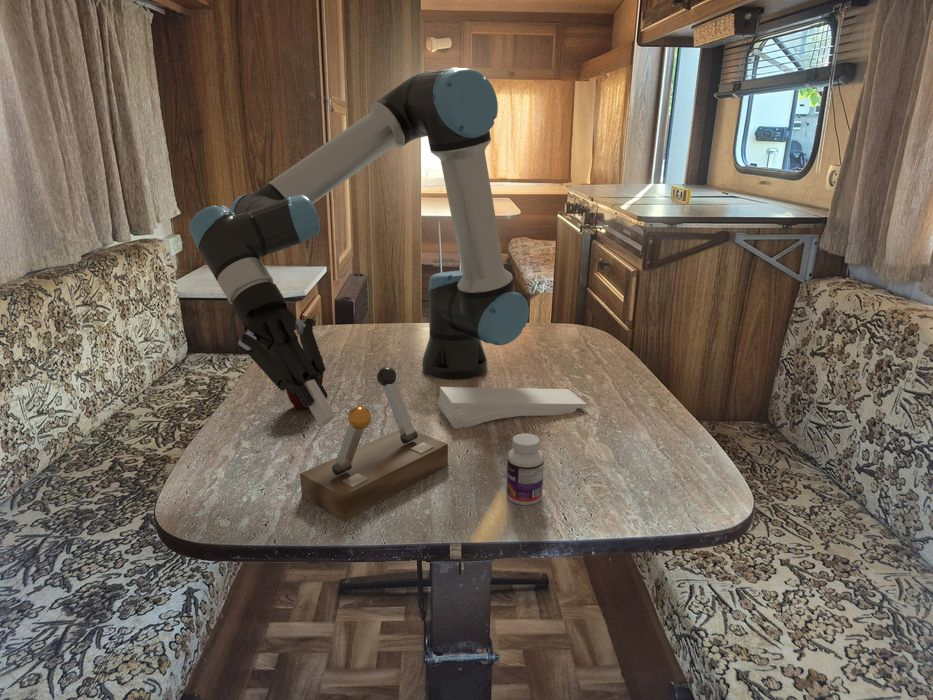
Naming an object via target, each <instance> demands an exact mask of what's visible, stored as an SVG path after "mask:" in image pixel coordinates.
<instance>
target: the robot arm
mask: <svg viewBox="0 0 933 700" xmlns="http://www.w3.org/2000/svg"><path fill="white" fill-rule="evenodd" d="M498 110H499V103H498V97H497V93H496V91H495V89H494V87H493V84H491V82H490V80H489V79H488V77H486V76H484V75H483V74H482V73H481V72H479V71H478V70H475V69H472V68H468V67H465V68H464V67H463V68H462V67H450V68H446V69H441V70H439V69H438V70H435V71H424V72H420V73H417V74H415V75H412V76H411V77H409V78H407V79H406V80H405V81H403V82H401V83H400V84H399V85H397V86H395V88H393V89H391V90H390V91H389V92H387V94H385V95H383V96H382V97H381V98H380V99H378V100H377V101H375V102H373V103H372V104H371V106H370V112H369V113H367V114H366V115H364V116H363V117H362V118H360V119H359V120H358V121H356V122H355V123H353V124H351V125H350V126H349V127H347V128H346V129H345V130H343V131H341V132H340V133H339V134H337V135H336V136H334V137H333V138H332V139H329V141H326V143H324V144H323V145H321V146H320V147H318V148H316V150H314V151H312V152H310V154H308V155H307V156H305V157H304V158H302V159H300V160H299V161H298V162H296V163H295V164H294V165H292V166H291V167H289V168H288V169H286V170H285V171H283V173H281V174H279V175H278V176H275V178H273V179H272V180H271V181H269V182H268V183H266V184H265V185H263V186H262V187H260V188H258V189H257V190H256V191H254V192H252V193H246V194H242V195H239V196H238V197H237V198H236V199H235V200H233V201H232V204H231V207H230V208H229V207H228V206H226V205H210V206H208V207H207V206H206V207H204V208H203V209H201V210H199V211H198V212H197V213H196V214H194V215H193V217H192V218H191V220H190V222H189V227H188V231H189V233H190V235H191V239H193V242H194V244H195V246H196V248H197V250H198V253H199V254H200V255H201V257H202V258H203V260H204V262H205V264H206V265H207V267H208V268H209V270H210V272H211V273H212V275H213V277H214V278H215V280H216V282H217V284H218V285H219V287H220V289H221V290H222V292H223V294H224V296H225V297H226V299H227V301H228V302H229V304H231V308H232V310H233V311H234V313H235V315H236V316H237V319H238V320H239V322H240V324H241V325H242V326H243V327H244V329H243V331H244V334H242V335H241V337H240V338H239V341H238V342H237V344H236V347H237V348H238V349H239V350H240V351H242V352H243V353H244V354H247V355H248V356H249V357H250V358H251V359H252V360H253V362H254V363H255V364H256V365H257V366H258V367H259V369H261V370H262V371H263V373H264V374H265V375H266V376H267V377H268V378H269V379H270V381H272V383H273V385H275V386H276V387H277V388H278V389H279V390H280V391H285V390H286V389H290V390H289V391H290V392H291V393H295V392H296V394H297V396H298V398H299V399H300V401H301V403H302V404H303V406H304V407H309V408H310V410H309V411H310V412H311V414H312V415H313V417H314V419H315V420H316V422H317V425H319V427H323V426H325V425H328V424H329V423H330V422H331V421H332V420H333V418H335V417H336V413H335V412H334V410H333V408H332V407H331V405H330V403H329V402H328V400H327V398H328V393H327V391H326V389H325V387H324V386H323V383H322V384H321V383H320V381H319V377H320V376H321V375H322V374H323V375H324V373H325V372H326V366H325V363H324V359H323V360H322V358H323V357H322V355H321V352H320V348H319V346H318V343H317V340H316V337H315V333H314V331H313V327H314V322H313V319H311V318H306V319H305V320H302V319H299V318H296V315H295V314H294V313H293V312H292V311H290V310H289V308H288V306H287V302H286V300H285V298H284V296H283V294H282V293H281V291H280V289H279V288H278V285H277V284H276V283H274V279H273V277H272V275H271V274H270V272H269V270H268V268H267V267H266V266H265V265H264V263H263V261H262V259H261V258H263V257H266V256H268V255H269V256H270V255H271V254H274V253H277V252H279V251H282V250H285V249H288V248H291V247H294V246H296V245H299V244H304V243H305V242H306V241H308V240H311V239H313V238H315V237H317V236H318V235H319V233H320V230H321V224H320V223H321V222H320V218H319V215H318V212H317V210H316V208H315V205H314V204H315V203H316V202H318V201H320V199H322V198H323V197H324V196H326V195H328V194H329V193H330V192H333V190H334V189H336V188H338V187H339V186H340V185H342V184H343V183H345V182H346V181H347V180H349V179H350V178H352V177H353V176H354V175H355V174H357V173H358V172H359V171H361V170H362V169H364V168H365V167H366V166H368V165H370V164H371V163H373V162H374V161H375V160H377V159H378V158H379V157H380V156H382V155H383V154H385V153H386V152H388V151H389V150H390V149H392V148H396V149H401V148H403V147H405V145H406V144H408V143H409V142H412V141H414V140H417V139H420V138H425V137H427V139H428V145H429V149H430V153H432V154H433V155H434V156H436V157H437V158H438V159H439V160H440V165H441V169H442V174H443V180H444V184H445V185H444V186H445V190H446V195H447V200H448V205H449V211H450V216H451V221H452V227H453V232H454V237H455V238H454V239H455V241H456V247H457V252H458V258H459V262H460V263H459V264H460V269H461V270H450V271H442V272H438V273H434V274H432V275H431V276H430V277H429V280H428V290H427V293H428V318H429V319H428V320H429V321H428V323H429V324H428V325H429V336H428V342H427V344H426V348H425V349H424V350H425V351H424V353H423V354H424V355H423V357H422V359H421V360H422V364H421V365H422V368H421V369H422V372H424V374H426V375H428V376H429V377H433V378H436V379H442V380H450V381H451V380H454V381H455V380H467V379H473V378H477V377H479V376H482V375H483V374H485V373H486V372H487V369H488V359H487V356H486V353H485V350H484V347H483V343H485V344H492V345H494V346H504V345H508V344H510V343H512V342H514V341H515V340H516V339H518V337H520V335H521V334H522V333H523V330H524V328H525V327H526V325H527V324H528V319H529V315H530V309H529V304H528V301H527V299H526V298H525V297H524V296H523V294H521V293H520V292H516V289H515V283H514V277H513V274H512V273H511V272H510V271H508V270H507V269H506V268H505V267H504V260H503V255H502V249H501V242H500V236H499V230H498V224H497V223H498V222H497V218H496V212H495V207H494V199H493V193H492V188H491V181H490V176H489V175H490V174H489V170H488V164H487V163H488V162H487V156H486V148H487V147H488V146H489V144H490V143H491V141H492V137H491V132H490V130H491V129H492V128H493V126H494V125H495V120H496V119H497V117H498V112H499V111H498ZM298 335H299V336H298ZM299 341H300V342H299ZM482 342H483V343H482ZM304 383H305V384H304Z"/></svg>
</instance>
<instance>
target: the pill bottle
mask: <svg viewBox="0 0 933 700" xmlns="http://www.w3.org/2000/svg"><path fill="white" fill-rule="evenodd" d="M540 445H541V444H540V438H539V436H537V435H536V434H532V433H524V432H522V433H518V434H516V435H514V436H513V437H512V448H511V450H509V451H508V453H507V462H506V465H507V466H506V470H507V471H506V496H507V498H508V499H509V501H511V503H514V504H516V505H521V506H530V505H534V504H537V503H539V502H540V501H541V500H542V498H543V483H544V466H545V465H544V463H545V462H544V461H545V460H544V459H545V458H544V454H543V452H542V451H541V450H540V449H541V448H540V447H541V446H540Z"/></svg>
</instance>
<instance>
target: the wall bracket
mask: <svg viewBox="0 0 933 700" xmlns="http://www.w3.org/2000/svg"><path fill="white" fill-rule="evenodd" d="M437 404H438V408H439V409H440V411H441V412H442V413H443V415H444V416H445V418H446V420H448V422H449V423H450V425H451V426H452V427H453V428H454V429H461V428H468V427H473V426H477V425H480V424H483V423H486V422H490V421H495V420H500V419H506V418H513V417H528V416H529V417H530V416H531V417H533V416H534V417H535V416H557V415H567V414H574V413H575V412H576V411H577V409H587V406H588V405H587V402H585V401H584V400H583V399H582V398H580V397H579V396H578V395H576V394H575V393H574V392H572V391H571V390H570V389H569V388H529V387H527V388H525V387H524V388H522V387H521V388H519V387H473V386H472V387H468V386H467V387H465V386H463V387H462V386H461V387H460V386H456V387H455V386H439V397H438V400H437Z"/></svg>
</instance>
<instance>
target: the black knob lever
mask: <svg viewBox="0 0 933 700" xmlns="http://www.w3.org/2000/svg"><path fill="white" fill-rule="evenodd" d="M376 379H377V382H378V383H379V385H380V386H382V388H383V390H384V394H385V396H386V398H387V401H388V404H389V407H390V409H391V412H392V415H393V418H394V420H395V423H396V425H397V428H398V430H399V431H400V434H401V436H400V439H401V441H402V443H404V444H406V443H408V442H410V441H412V440H414V439H416V438H417V437H418V435H417V432H418V431H417V432H416V430H415V429H414V426H413V424H412V421H411V419H410V415H409V413H408V410H407V408H406V407H407V406H405V402H404V400H403V396H402V394H401V392H400V389H399V386H398V384H397V373H396V371H395V370H394V368H391V367H389V366H385V367H382V368H380V369H379V370H378V371H377V374H376Z"/></svg>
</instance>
